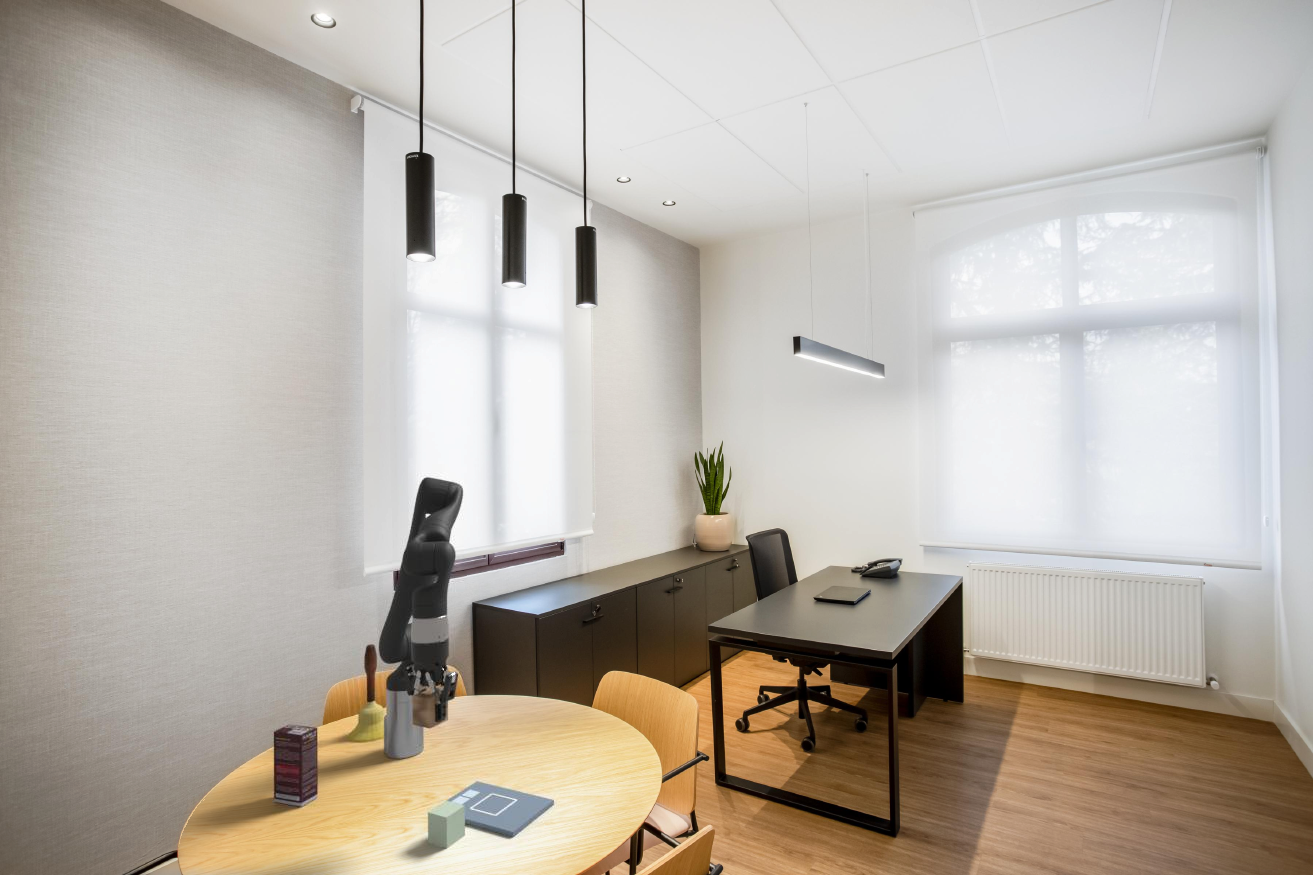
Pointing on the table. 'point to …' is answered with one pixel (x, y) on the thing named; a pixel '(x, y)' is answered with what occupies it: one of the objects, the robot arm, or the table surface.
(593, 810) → the table surface
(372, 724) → the handbell
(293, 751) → the supplement box
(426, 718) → the walnut block
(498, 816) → the board
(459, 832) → the sage block
